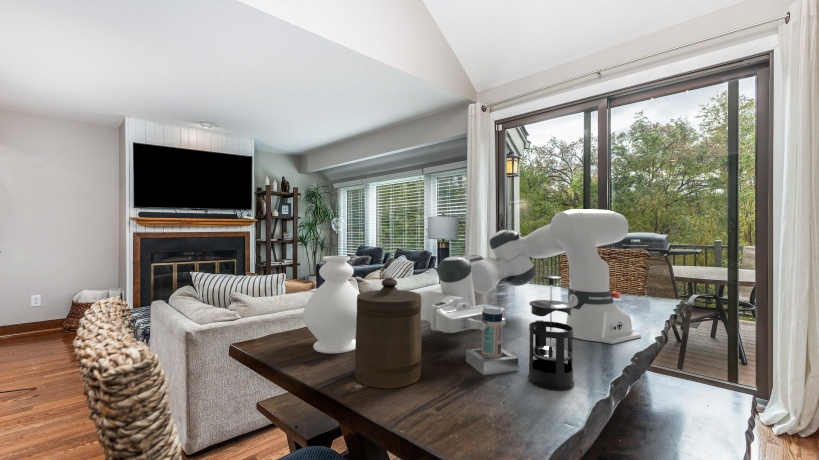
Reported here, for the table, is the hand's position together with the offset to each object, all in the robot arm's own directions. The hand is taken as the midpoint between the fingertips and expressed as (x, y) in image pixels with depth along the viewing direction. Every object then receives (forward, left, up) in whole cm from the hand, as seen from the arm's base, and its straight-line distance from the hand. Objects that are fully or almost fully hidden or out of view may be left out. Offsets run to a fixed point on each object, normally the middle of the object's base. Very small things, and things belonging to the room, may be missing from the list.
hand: (494, 324), depth 89 cm
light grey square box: (0, -1, -10) cm, 10 cm away
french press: (-8, +10, -10) cm, 16 cm away
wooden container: (+25, -3, -10) cm, 28 cm away
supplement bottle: (0, -1, -8) cm, 8 cm away
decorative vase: (+34, -27, -10) cm, 45 cm away
